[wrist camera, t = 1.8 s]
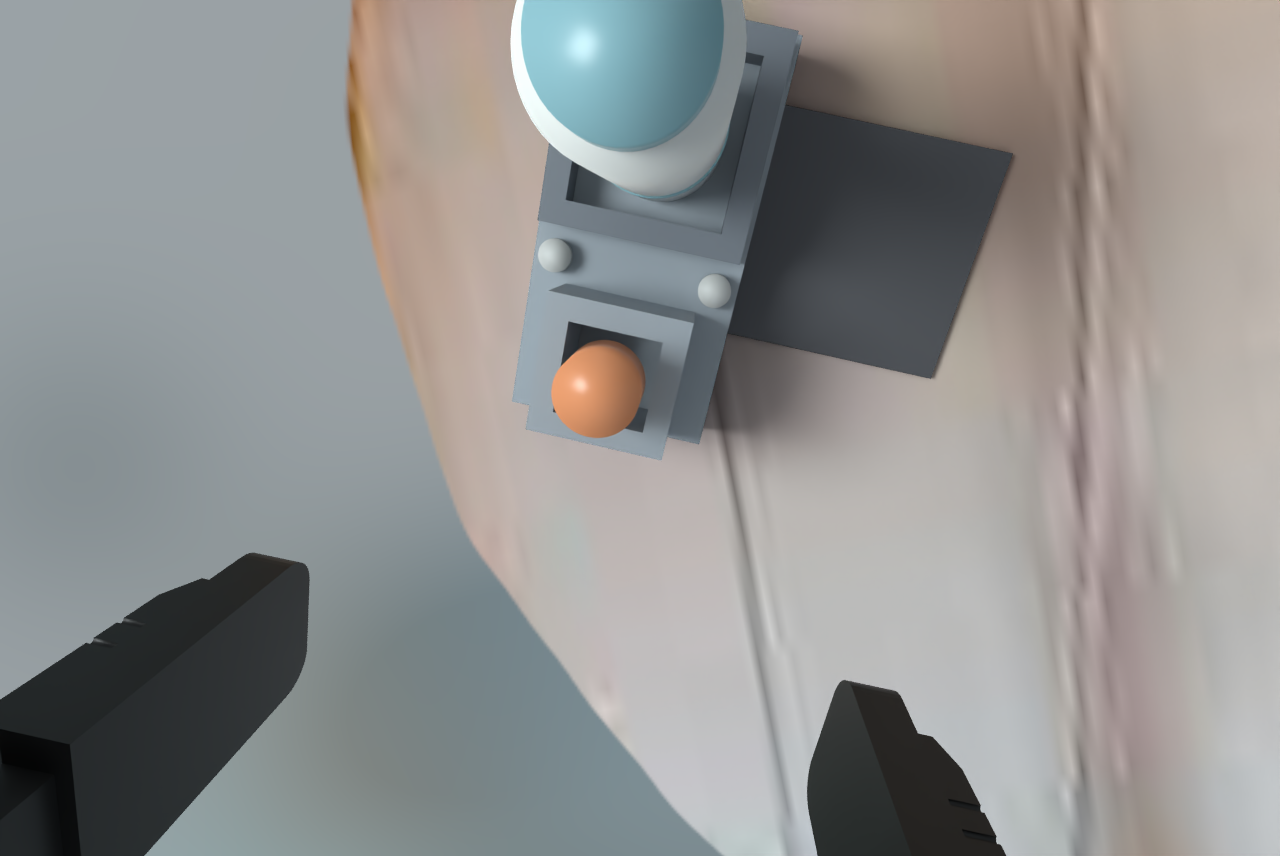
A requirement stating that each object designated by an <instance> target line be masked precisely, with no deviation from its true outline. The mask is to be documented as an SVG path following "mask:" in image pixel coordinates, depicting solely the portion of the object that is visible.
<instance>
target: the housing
mask: <svg viewBox="0 0 1280 856" xmlns="http://www.w3.org/2000/svg"><path fill="white" fill-rule="evenodd" d="M798 32H799V31H796V30H792V29H787V28H782V27H778V26H773V25H768V24H763V23H759V22H754V21H749V20H746V33H747V44H746V58H745V64H744V70H743V75H742V79H741V83H740V87H739V90H738V94H737V98H736V102H735V106H734V109H733V113H732V117H731V121H730V128H729V134H728V138H727V141H726V145H725V148H724V150H723V152H722V155H721V158H720V160H719V163H718V165H717V167H716V169H715V170H714V172H713V174H712V175H711V176H710V178H709V179H708V180H707V181H706V182H705V183H704V184H703V185H702V186H701V187H700V188H699V189H698V190H696V191H695V192H693V193H692V194H690V195H688V196H686V197H684V198H681V199H678V200H674V201H668V202H656V201H649V200H646V199H643V198H640V197H638V196H635V195H632V194H630V193H628V192H626V191H624V190H622V189H620V188H619V187H617V186H615V185H614V184H613V183H611V182H610V181H608V180H606V179H604V178H603V177H601V176H599V175H597V174H595V173H593V172H591V171H590V170H588V169H586V168H584V167H582V166H580V165H578V164H577V163H575V162H574V161H572V160H570V159H569V158H567V157H566V156H564V155H563V154H562V153H560V152H559V151H558V150H557V149H556V148H554V147H553V146H552V145H551V144H550V143H549V147H548V154H547V161H546V167H545V174H544V181H543V188H542V194H541V201H540V208H539V214H538V221H539V226H538V232H537V239H536V246H535V252H534V259H533V266H532V272H531V279H530V286H529V292H528V299H527V306H526V312H525V319H524V325H523V332H522V339H521V345H520V352H519V359H518V365H517V372H516V379H515V385H514V392H513V398H512V401H513V402H517V403H521V404H526V405H529V411H528V417H527V423H526V429H527V430H531V431H535V432H540V433H544V434H548V435H553V436H557V437H561V438H566V439H570V440H574V441H579V442H583V443H587V444H592V445H596V446H600V447H605V448H609V449H613V450H618V451H622V452H626V453H631V454H635V455H639V456H644V457H648V458H652V459H657V460H662V456H663V452H664V448H665V443H666V439H667V437H669V438H674V439H678V440H683V441H687V442H691V443H696V444H699V442H700V438H701V434H702V431H703V427H704V423H705V419H706V415H707V411H708V407H709V403H710V399H711V395H712V391H713V387H714V383H715V379H716V375H717V371H718V368H719V364H720V360H721V356H722V352H723V348H724V344H725V340H726V336H727V332H728V328H729V324H730V320H731V316H732V312H733V309H734V305H735V301H736V297H737V293H738V289H739V285H740V281H741V277H742V273H743V269H744V265H745V261H746V257H747V253H748V249H749V246H750V242H751V238H752V234H753V230H754V226H755V222H756V218H757V214H758V210H759V206H760V202H761V198H762V194H763V190H764V187H765V183H766V179H767V175H768V171H769V167H770V163H771V159H772V155H773V151H774V147H775V143H776V139H777V135H778V131H779V128H780V124H781V120H782V116H783V112H784V108H785V104H786V100H787V96H788V92H789V88H790V84H791V80H792V76H793V72H794V68H795V65H796V61H797V57H798V53H799V49H800V45H801V41H802V37H803V36H802V35H798ZM597 340H611V341H616V342H619V343H621V344H623V345H625V346H627V347H628V348H629V349H631V350H632V351H633V352H634V353H635V354H636V355H637V357H638V358H639V360H640V361H641V363H642V366H643V368H644V372H645V378H646V381H645V390H644V393H643V396H642V399H641V402H640V404H639V407H638V410H637V412H636V415H635V417H634V418H633V420H632V421H631V422H630V424H629V425H628V426H627V427H626V428H625V429H623V430H622V431H620V432H619V433H617V434H615V435H612V436H609V437H604V438H591V437H586V436H583V435H580V434H578V433H576V432H574V431H572V430H571V429H570V428H568V427H567V426H566V425H565V424H564V423H563V422H562V421H561V419H560V418H559V417H558V415H557V413H556V411H555V409H554V406H553V403H552V397H551V390H552V383H553V380H554V377H555V375H556V373H557V371H558V369H559V368H560V367H561V366H562V365H563V364H564V363H565V362H566V361H567V360H568V359H569V358H570V357H571V356H572V355H573V354H574V353H575V352H576V351H577V350H578V349H579V348H581V347H582V346H584V345H585V344H587V343H590V342H592V341H597Z"/></svg>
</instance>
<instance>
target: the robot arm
mask: <svg viewBox="0 0 1280 856" xmlns="http://www.w3.org/2000/svg"><path fill="white" fill-rule="evenodd" d="M308 605H309V571H308V568H307V566H306V565H305V564H303V563H300V562H295V561H290V560H286V559H280V558H276V557H272V556H267V555H262V554H257V553H249V554H246V555H245V556H243V557H241V558H240V559H238V560H237V561H235V562H234V563H233V564H231V565H230V566H228V567H227V568H225V569H224V570H223V571H221V572H220V573H218V574H217V575H215V576H214V577H213V578H211V579H210V580H207V579H203V578H202V579H199V580H196V581H194V582H191V583H188V584H186V585H184V586H181V587H178V588H175V589H173V590H170V591H167V592H165V593H162V594H159V595H158V596H156V597H155V598H153V599H152V600H150V601H149V602H147V603H146V604H144V605H143V606H141V607H140V608H138V609H137V610H135V611H134V612H132V613H130V614H129V615H127V616H126V617H124V620H123V622H122V623H115V624H114V625H113V626H111V627H109V628H108V629H106V630H105V631H103V632H102V633H100V634H99V635H97V636H96V637H94V640H93V642H92V643H91V644H88V643H85V644H84V645H82V646H81V647H79V648H78V649H76V650H75V651H73V652H72V653H70V654H69V655H67V656H65V657H64V658H62V659H61V660H59V661H58V662H56V663H55V664H53V665H52V666H50V667H49V668H47V669H46V670H44V671H43V672H41V673H40V674H38V675H37V676H35V677H34V678H32V679H31V680H29V681H28V682H26V683H25V684H23V685H22V686H20V687H19V688H17V689H16V690H14V691H13V692H11V693H10V694H8V695H7V696H5V697H3V698H2V699H0V856H144V855H145V854H146V853H147V852H148V851H149V850H150V849H151V847H152V846H153V845H154V844H155V843H156V842H157V841H158V840H159V839H160V837H161V836H162V835H163V834H164V833H165V832H166V831H167V830H168V829H169V827H170V826H171V825H172V824H173V823H174V822H175V821H176V819H177V818H178V817H179V816H180V815H181V814H182V813H183V812H184V811H185V809H186V808H187V807H188V806H189V805H190V804H191V803H192V801H194V799H195V798H196V797H197V796H198V795H199V794H200V793H201V791H202V790H203V789H204V788H205V787H206V786H207V785H208V784H209V783H210V781H211V780H212V779H213V778H214V777H215V776H216V775H217V774H218V772H219V771H220V770H221V769H222V768H223V767H224V766H225V765H226V764H227V762H228V761H229V760H230V759H231V758H232V757H233V756H234V755H235V753H236V752H237V751H238V750H239V749H240V748H241V747H242V746H243V745H244V743H245V742H246V741H247V740H248V739H249V738H250V737H251V736H252V734H253V733H254V732H255V731H256V730H257V729H258V728H259V726H261V724H262V723H263V722H264V721H265V720H266V719H267V718H268V717H269V715H270V714H271V713H272V712H273V711H274V710H275V709H276V708H277V706H278V705H279V704H280V703H281V702H282V701H283V700H284V699H285V698H286V696H287V695H288V694H289V693H290V691H291V690H292V688H293V687H294V685H295V683H296V682H297V679H298V678H299V675H300V673H301V671H302V668H303V665H304V662H305V658H306V652H307V632H308V631H307V630H308ZM807 800H808V810H809V815H810V820H811V825H812V830H813V835H814V840H815V845H816V850H817V855H818V856H1006V854H1005V852H1004V850H1003V848H1002V846H1001V845H999V844H997V843H996V835H995V833H994V831H993V829H992V827H991V825H990V823H989V821H988V819H987V817H986V815H985V813H982V812H981V811H980V806H981V805H980V803H979V801H978V799H977V797H976V796H975V794H974V792H973V790H972V788H971V786H970V784H969V782H968V780H967V778H966V776H965V774H964V772H963V770H962V769H961V768H960V767H959V765H958V764H957V763H956V762H955V761H954V760H953V759H952V758H951V757H950V756H949V754H948V753H947V752H946V751H945V750H944V749H943V748H942V747H941V746H940V745H939V743H938V742H937V741H936V740H935V739H934V738H933V737H931V736H927V735H922V734H918V733H917V730H916V728H915V726H914V724H913V722H912V719H911V717H910V715H909V713H908V711H907V709H906V706H905V704H904V702H903V700H902V698H901V696H900V695H899V694H898V692H896V691H893V690H889V689H884V688H879V687H874V686H870V685H865V684H860V683H856V682H851V681H846V680H843V681H841V682H840V683H839V685H838V686H837V688H836V690H835V693H834V695H833V698H832V701H831V704H830V707H829V710H828V713H827V716H826V719H825V722H824V725H823V728H822V731H821V734H820V737H819V740H818V743H817V746H816V748H815V751H814V754H813V757H812V761H811V764H810V769H809V775H808V785H807Z"/></svg>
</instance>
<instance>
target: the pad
mask: <svg viewBox="0 0 1280 856" xmlns="http://www.w3.org/2000/svg"><path fill="white" fill-rule="evenodd" d="M1012 155H1013V154H1012V153H1008V152H1003V151H998V150H994V149H989V148H984V147H980V146H975V145H970V144H966V143H961V142H956V141H952V140H947V139H942V138H938V137H933V136H928V135H924V134H919V133H914V132H910V131H905V130H900V129H896V128H891V127H886V126H882V125H877V124H872V123H868V122H863V121H858V120H854V119H849V118H844V117H840V116H835V115H830V114H826V113H821V112H816V111H812V110H807V109H802V108H798V107H793V106H789V105H785V108H784V112H783V116H782V120H781V124H780V128H779V131H778V135H777V139H776V143H775V147H774V151H773V155H772V159H771V163H770V167H769V171H768V175H767V179H766V183H765V187H764V190H763V194H762V198H761V202H760V206H759V210H758V214H757V218H756V222H755V226H754V230H753V234H752V238H751V242H750V246H749V249H748V253H747V257H746V261H745V265H744V269H743V273H742V277H741V281H740V285H739V289H738V293H737V297H736V301H735V305H734V309H733V312H732V316H731V320H730V324H729V328H728V332H727V333H729V334H734V335H738V336H743V337H747V338H752V339H756V340H761V341H765V342H770V343H774V344H778V345H783V346H787V347H792V348H796V349H801V350H805V351H810V352H814V353H818V354H823V355H827V356H832V357H836V358H841V359H845V360H850V361H854V362H859V363H863V364H867V365H872V366H876V367H881V368H885V369H890V370H894V371H899V372H903V373H907V374H912V375H916V376H921V377H925V378H930V379H931V377H932V374H933V371H934V368H935V366H936V363H937V360H938V357H939V355H940V352H941V349H942V346H943V344H944V341H945V338H946V335H947V333H948V330H949V327H950V325H951V322H952V319H953V316H954V314H955V311H956V308H957V305H958V303H959V300H960V297H961V294H962V292H963V289H964V286H965V283H966V281H967V278H968V275H969V273H970V270H971V267H972V264H973V262H974V259H975V256H976V253H977V251H978V248H979V245H980V242H981V240H982V237H983V234H984V231H985V229H986V226H987V223H988V220H989V218H990V215H991V212H992V210H993V207H994V204H995V201H996V199H997V196H998V193H999V190H1000V188H1001V185H1002V182H1003V179H1004V177H1005V174H1006V171H1007V168H1008V166H1009V163H1010V160H1011V158H1012Z"/></svg>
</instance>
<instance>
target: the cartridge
mask: <svg viewBox="0 0 1280 856" xmlns="http://www.w3.org/2000/svg"><path fill="white" fill-rule="evenodd" d="M746 44H747V33H746V19H745V14H744V9H743V3H742V0H517V2H516V5H515V10H514V15H513V21H512V29H511V60H512V66H513V73H514V78H515V81H516V85H517V88H518V92H519V95H520V97H521V99H522V102H523V104H524V107H525V109H526V111H527V112H528V114H529V116H530V118H531V120H532V121H533V123H534V124H535V126H536V127H537V128H538V130H539V131H540V133H541V134H542V135H543V136H544V137H545V138H546V139H547V141H548V142H549V143H550V144H551V145H552V146H553V147H554V148H556V149H557V150H558V151H559V152H560V153H562V154H563V155H564V156H566V157H567V158H569V159H570V160H572V161H574V162H575V163H577V164H578V165H580V166H582V167H584V168H586V169H588V170H590V171H591V172H593V173H595V174H597V175H599V176H601V177H603V178H604V179H606V180H608V181H610V182H611V183H613V184H614V185H615V186H617V187H619V188H620V189H622V190H624V191H626V192H628V193H630V194H632V195H635V196H638V197H640V198H643V199H646V200H649V201H656V202H668V201H674V200H678V199H681V198H684V197H686V196H688V195H690V194H692V193H693V192H695V191H696V190H698V189H699V188H700V187H701V186H702V185H703V184H704V183H705V182H706V181H707V180H708V179H709V178H710V176H711V175H712V174H713V172H714V170H715V169H716V167H717V165H718V163H719V160H720V158H721V155H722V152H723V150H724V148H725V145H726V141H727V138H728V134H729V128H730V121H731V117H732V113H733V109H734V106H735V102H736V98H737V94H738V90H739V87H740V83H741V79H742V75H743V70H744V64H745V58H746Z"/></svg>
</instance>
